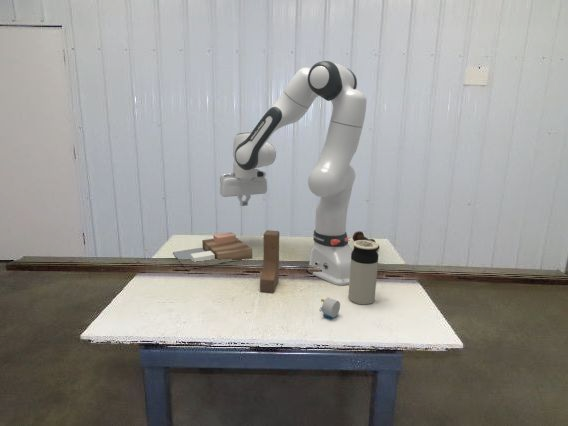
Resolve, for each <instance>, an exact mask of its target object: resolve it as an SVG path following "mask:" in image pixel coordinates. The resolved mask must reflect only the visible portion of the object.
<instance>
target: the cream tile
mask: <svg viewBox="0 0 568 426" xmlns="http://www.w3.org/2000/svg"><path fill="white" fill-rule="evenodd" d="M190 259H191V260H192V261H194V262H196V261H204V260H211V259H215V254H213V253H212V252H211V251H205V252H199V253H193V254H190Z"/></svg>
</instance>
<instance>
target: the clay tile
mask: <svg viewBox="0 0 568 426" xmlns="http://www.w3.org/2000/svg"><path fill="white" fill-rule="evenodd" d="M236 238H237V234H235V233H233V232H224V233H216V234H213V238H212V239H213V240H214V241H215V242H216V243H217V244H220V243H227V242H234V241H236Z"/></svg>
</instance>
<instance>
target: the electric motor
mask: <svg viewBox="0 0 568 426" xmlns="http://www.w3.org/2000/svg"><path fill="white" fill-rule="evenodd" d="M321 302H322V306H321V307H320V308H319V312H321V313H322V314H323V317H326V318H329V319H331V320H332V319H334V318H335V317H337V316H338V314H339V312H340V309H341V302H340V301H339V300H336V299H333V298H330V297H327V298H321Z"/></svg>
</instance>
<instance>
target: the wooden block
mask: <svg viewBox="0 0 568 426" xmlns="http://www.w3.org/2000/svg"><path fill="white" fill-rule="evenodd" d="M262 237H263V239H262V240H263V243H262V244H263V246H262V247H263V250H262V253H263V255H262V256H263V261H262V262H263V263H262V273H261V276H260V279H259V291H260V292H262V293H274V292H275V290H276V287H277V285H278V283H279V281H280V278H279V277H280V275H279V274H280V231H279V230H271V229H270V230H266V231H264V233H263V236H262Z"/></svg>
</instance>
